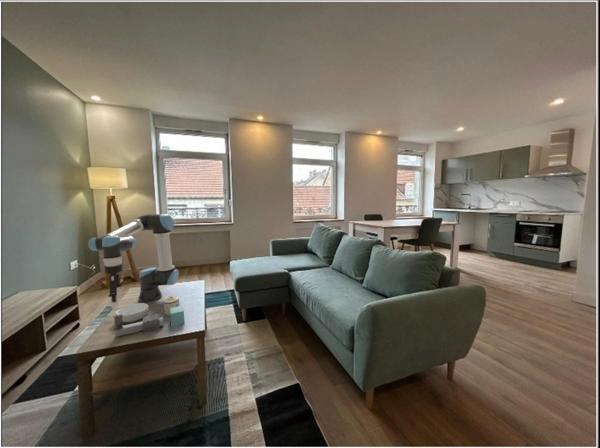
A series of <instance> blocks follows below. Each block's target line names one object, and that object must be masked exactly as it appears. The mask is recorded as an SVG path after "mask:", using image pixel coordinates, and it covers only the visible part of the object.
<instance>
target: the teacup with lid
mask: <svg viewBox="0 0 600 448" xmlns="http://www.w3.org/2000/svg"><path fill="white" fill-rule="evenodd" d="M177 306H180V298H179V297H177V296H173V294H172V295H169V297H168V298H165V299H164V300H163V307H164V315H165V316H168V317H170V308H173V307H177Z"/></svg>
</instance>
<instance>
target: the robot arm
mask: <svg viewBox="0 0 600 448" xmlns="http://www.w3.org/2000/svg"><path fill="white" fill-rule="evenodd" d="M174 225H175V223H174V219H173V217H172V216H171V215H170V214H167V213H166V214H164V213H155V214H150V213H149V214H144V215H141V216H138V217H135V218H133V219H131V220H130V221H129V222H128V223H127V224H125V225H123V226H120V227H119V228H117V229H115V230H112V231H111V232H109V233H107V234H104V235H103V236H101V237H92V238H89V241H88V242H87V243H88V244H87V245H88V248H89V249H90V250H91V251H94V252H100V251H101V252H103V253H102V254H103V255H102V256H103V259H102V262H103V265H104V268H103V269H104V274H106V275H109V276H108V278H109V279H108V280H109V294H108V297H109V298H110V303H111V304H110V305H111V309H115V308H119V299H120V300H121V299H122V292H121V287H122V286H123V285H122V284H121V280H120V272H122V271H123V264H122V263H123V259H122V252H126V251H128V250H131V249H133V248H134V249H135V247H136V246H137V240H136V238H135V237H133V235H134V234H137V233H141V232H143V231H152V234H153V235H154V236H155V241H156V248H157V249H156V250H157V251H156V252H157V259H158V265H159V266H158V267H155V266H154V267H149V268H145V269H142V270H141V271H139V275H138V276H139V277H138V278H139V288H140V291H139V294H138V302H139V303H145V304H147V303H152V302H156V301H157V300H160V299H161V298H162V296H163V294H162V291H161V290H160V286H174V285H176V283H177V282H178V280H179V276H180V271H179V270H178V269H177V268H176V266H175V265H174V264H173V259H172V249H171V248H172V247H171V239H170V234H171V233H172V230H173V229H174Z"/></svg>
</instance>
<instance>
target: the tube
mask: <svg viewBox="0 0 600 448" xmlns="http://www.w3.org/2000/svg"><path fill="white" fill-rule="evenodd" d="M113 320H114V336H115V337H120V336H124V335H128V334H131V333H132V334H133V333H137V332H141V331H143V320H142V321H138V322H135V323H134V322H132V323H129V324H125V325H124V322H123V318H122V315H117V316H116V315H115V316H114V317H113ZM159 324H160V327H162V326H164V316H159Z"/></svg>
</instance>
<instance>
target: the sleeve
mask: <svg viewBox="0 0 600 448" xmlns="http://www.w3.org/2000/svg"><path fill="white" fill-rule="evenodd" d="M159 317H160V314H159V313H157V314H156V313H155V314H153V315H148V316H147V315H146V316H144V317H143V318H142V321H143V330H142V331H143V334H145V333H149V332H154V331H157V330H160V329H161V328H160V327H161V326H160V324H159Z"/></svg>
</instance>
